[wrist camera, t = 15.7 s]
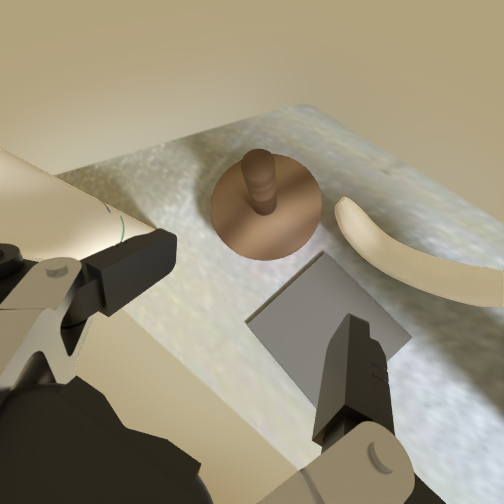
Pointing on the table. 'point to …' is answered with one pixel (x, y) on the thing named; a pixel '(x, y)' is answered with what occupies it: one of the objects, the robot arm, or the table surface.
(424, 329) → the table surface
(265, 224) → the walnut lid
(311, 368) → the rubber mat
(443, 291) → the banana
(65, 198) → the cylindrical container
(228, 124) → the table surface
